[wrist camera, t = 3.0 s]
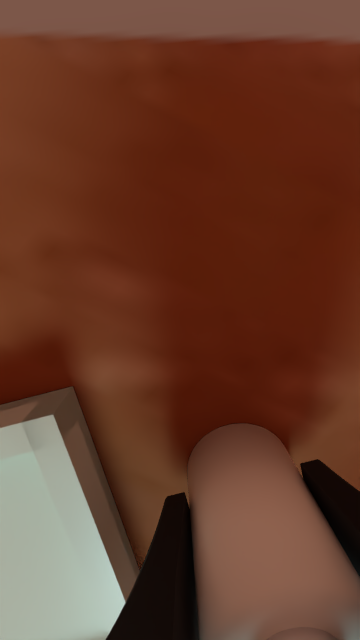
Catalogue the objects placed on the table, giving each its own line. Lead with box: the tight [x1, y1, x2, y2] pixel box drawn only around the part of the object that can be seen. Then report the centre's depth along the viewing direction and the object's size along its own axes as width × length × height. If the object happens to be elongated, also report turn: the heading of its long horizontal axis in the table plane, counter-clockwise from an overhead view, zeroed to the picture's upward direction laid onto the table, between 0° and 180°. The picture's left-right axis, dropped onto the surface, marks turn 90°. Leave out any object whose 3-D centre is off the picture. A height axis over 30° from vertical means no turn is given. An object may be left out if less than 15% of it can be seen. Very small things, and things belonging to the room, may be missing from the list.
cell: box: [187, 423, 360, 640], centre depth 9 cm, size 4×4×6 cm
